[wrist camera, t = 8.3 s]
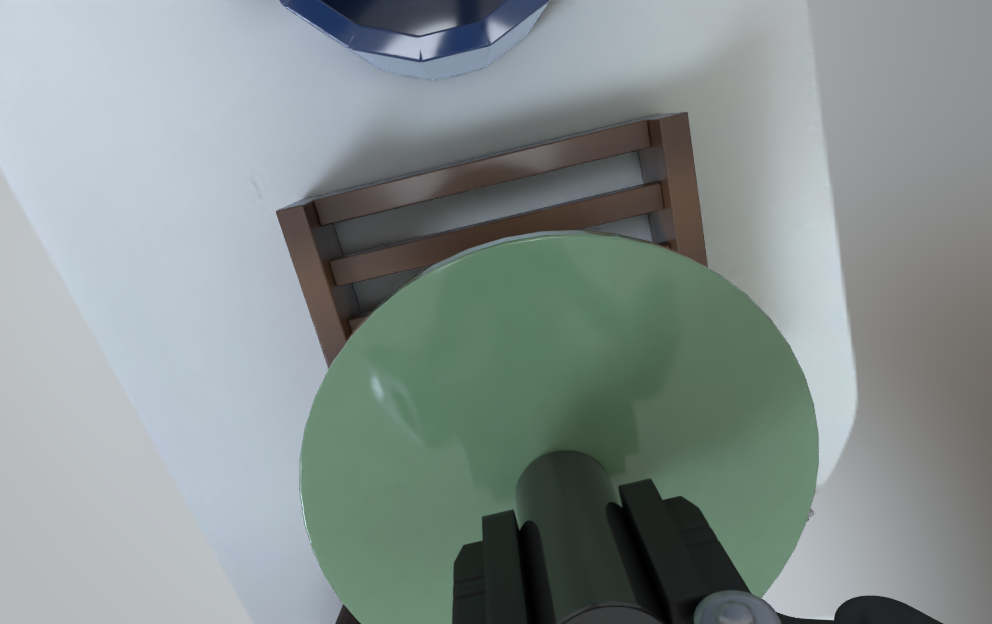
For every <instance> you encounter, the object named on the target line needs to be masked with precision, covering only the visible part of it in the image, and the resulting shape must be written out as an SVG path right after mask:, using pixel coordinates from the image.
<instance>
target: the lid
mask: <svg viewBox="0 0 992 624" xmlns="http://www.w3.org/2000/svg"><path fill="white" fill-rule="evenodd" d="M818 466H819V437H818V428H817V422H816V415H815V409H814V403H813V400H812V397H811V394H810V391H809V388H808V385H807V382H806V379H805V375H804V373H803V371H802V369H801V367H800V365H799V363H798V361H797V359H796V357H795V355H794V353H793V351H792V349H791V347H790V345H789V344H788V343H787V341H786V340H785V338H784V337H783V335H782V334H781V333H780V331H779V330H778V328H777V327H776V326H775V324H774V323H773V321H772V320H771V319H770V318H769V317H768V316H767V315H766V314H765V313H764V312H763V311H762V310H761V309H760V308H759V307H758V306H757V305H756V304H755V302H754V301H753V300H752V299H751V298H750V297H749V296H748V295H746V294H745V293H744V292H742V291H741V290H740V289H738V288H737V287H736V286H734V285H733V284H732V283H730V282H729V281H728V280H726V279H725V278H724V277H723V276H721V275H720V274H718V273H716V272H714V271H713V270H711V269H709V268H707V267H705V266H704V265H702V264H700V263H698V262H696V261H695V260H693V259H691V258H689V257H687V256H686V255H684V254H681V253H679V252H676V251H674V250H671V249H668V248H666V247H663V246H660V245H658V244H655V243H653V242H650V241H646V240H641V239H637V238H633V237H628V236H624V235H620V234H615V233H605V232H594V231H583V230H567V231H541V232H535V233H529V234H524V235H518V236H512V237H506V238H502V239H499V240H495V241H492V242H489V243H486V244H482V245H479V246H476V247H473V248H469V249H467V250H465V251H463V252H460V253H458V254H456V255H454V256H452V257H449V258H447V259H445V260H443V261H441V262H439V263H436V264H434V265H433V266H431V267H430V268H428V269H426V270H425V271H423V272H422V273H420V274H418V275H417V276H415V277H414V278H412V279H410V280H409V281H407V282H406V283H404V284H403V285H402V286H400V287H399V288H398V289H397V290H396V291H394V292H393V293H392V294H391V295H390V296H388V297H387V298H386V299H385V300H384V301H382V302H381V303H380V304H379V305H378V306H376V307H375V309H374V310H373V311H372V312H371V313H370V314H369V315H368V316H367V317H366V318H365V319H364V321H363V322H362V323H361V324H360V325H359V326H358V327H357V328H356V329H355V330H354V331H353V333H352V334H351V336H350V337H349V339H348V340H347V341H346V343H345V344H344V346H343V347H342V349H341V350H340V352H339V353H338V355H337V356H336V357H335V359H334V361H333V362H332V364H331V366H330V368H329V370H328V372H327V374H326V376H325V378H324V380H323V382H322V384H321V386H320V388H319V390H318V392H317V394H316V396H315V398H314V401H313V404H312V408H311V411H310V414H309V417H308V420H307V423H306V426H305V430H304V436H303V442H302V448H301V455H300V474H299V492H300V499H301V506H302V513H303V520H304V524H305V527H306V530H307V534H308V537H309V540H310V544H311V547H312V550H313V552H314V554H315V557H316V559H317V561H318V563H319V565H320V567H321V569H322V571H323V574H324V576H325V577H326V579H327V581H328V582H329V584H330V585H331V587H332V588H333V590H334V591H335V593H336V594H337V596H338V597H339V599H340V600H341V602H342V603H343V604H344V605H345V606H346V607H347V608H348V610H349V611H350V612H351V613H352V614H353V615H354V616H355V618H356V619H357V620H358V621H359V622H360V623H361V624H452V608H453V585H454V583H453V570H454V562H455V560H456V558H457V556H458V554H459V552H460V550H461V548H462V546H463V545H465V544H469V543H474V542H478V541H482V540H483V535H482V516H486V515H490V514H495V513H499V512H504V511H508V510H512V509H514V512H515V515H516V519H517V522H518V526H519V530H520V537H521V544H522V552H523V559H524V567H525V574H526V582H527V589H528V596H529V604H530V611H531V619H532V624H670V623H669V621H668V618H667V616H666V613H665V611H664V609H663V606H662V604H661V601H660V599H659V596H658V594H657V592H656V589H655V587H654V584H653V582H652V579H651V577H650V574H649V572H648V570H647V567H646V565H645V562H644V560H643V557H642V555H641V553H640V550H639V548H638V545H637V543H636V540H635V538H634V535H633V533H632V531H631V528H630V526H629V523H628V521H627V518H626V516H625V514H624V511H623V509H622V505H621V500H620V495H619V485H623V484H627V483H632V482H636V481H640V480H645V479H649V478H651V479H652V481H653V482H654V484H655V486H656V488H657V490H658V492H659V494H660V496H661V498H662V500H664V499H668V498H673V497H677V496H682V497H684V498H685V499H687V500H688V501H690V502H691V503H693V504H694V505H696V506H697V507H699V508H700V510H701V512H702V513H703V515H704V517H705V518H706V520H707V522H708V523H709V526H710V527H711V528H712V530H713V531H714V533H715V535H716V536H717V539H718V541H720V543H721V544H722V546H723V548H724V549H725V551H726V553H727V554H728V556H729V557H730V559H731V561H732V562H733V564H734V566H735V567H736V569H737V571H738V572H739V574H740V575H741V577H742V579H743V580H744V582H745V584H746V585H747V587H748V588H749V590H750V592H751V593H752V594H753V595H756V596H758V597H760V598H762V597H763V595H764V594H765V593H766V591H767V590H768V589H769V588H770V586H771V585H772V584H773V582H774V581H775V580H776V579H777V577H778V576H779V575H780V573H781V571H782V570H783V568H784V566H785V565H786V563H787V561H788V560H789V558H790V556H791V555H792V553H793V551H794V549H795V547H796V545H797V543H798V541H799V538H800V536H801V533H802V531H803V529H804V527H805V524H806V522H807V519H808V515H809V512H810V508H811V505H812V501H813V498H814V494H815V488H816V480H817V473H818Z"/></svg>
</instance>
